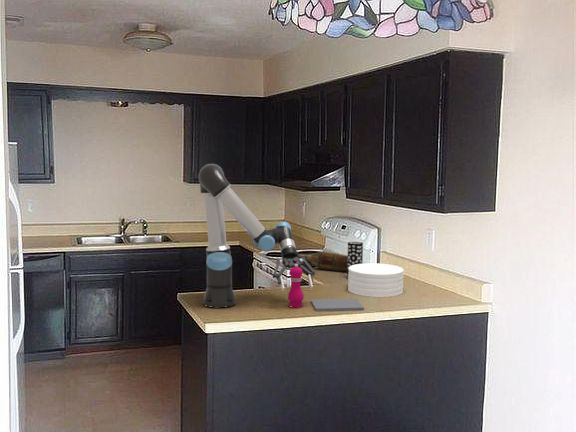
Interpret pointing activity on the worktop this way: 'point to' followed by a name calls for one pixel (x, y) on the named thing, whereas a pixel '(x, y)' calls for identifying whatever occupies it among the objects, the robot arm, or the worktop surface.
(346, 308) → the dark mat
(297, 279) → the pepper mill
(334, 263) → the decorative bottle
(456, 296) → the worktop surface
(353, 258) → the white-spotted black cylinder
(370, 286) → the plate stack
